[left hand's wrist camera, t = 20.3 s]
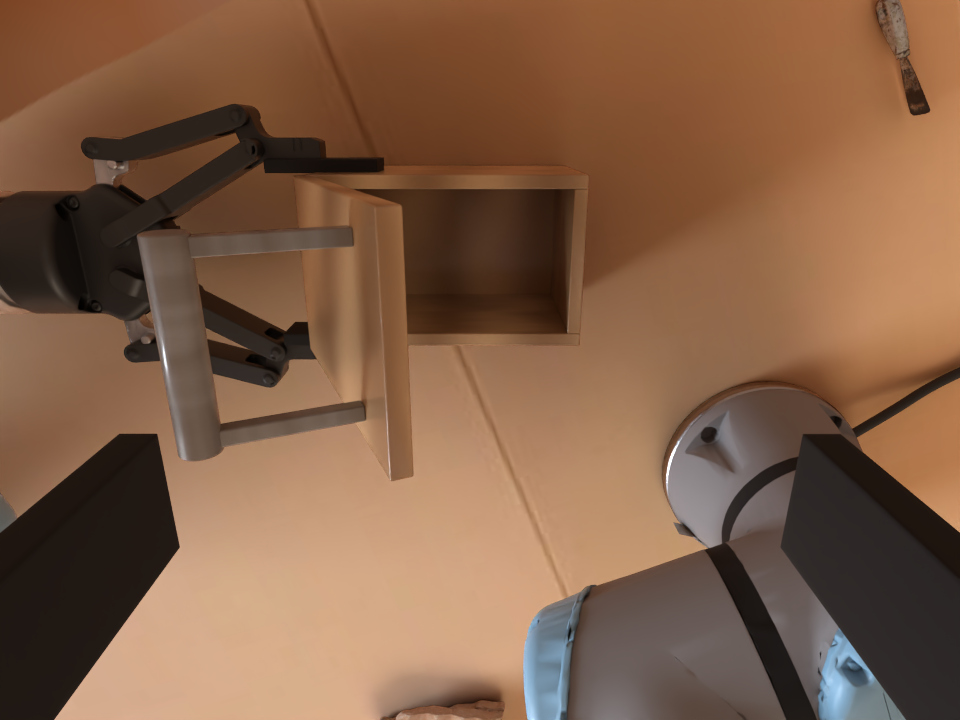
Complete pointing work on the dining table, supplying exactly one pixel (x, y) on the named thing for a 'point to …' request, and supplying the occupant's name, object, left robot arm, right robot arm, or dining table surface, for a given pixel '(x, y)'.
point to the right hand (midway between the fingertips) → (385, 253)
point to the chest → (487, 250)
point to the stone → (454, 712)
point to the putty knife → (901, 51)
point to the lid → (331, 321)
